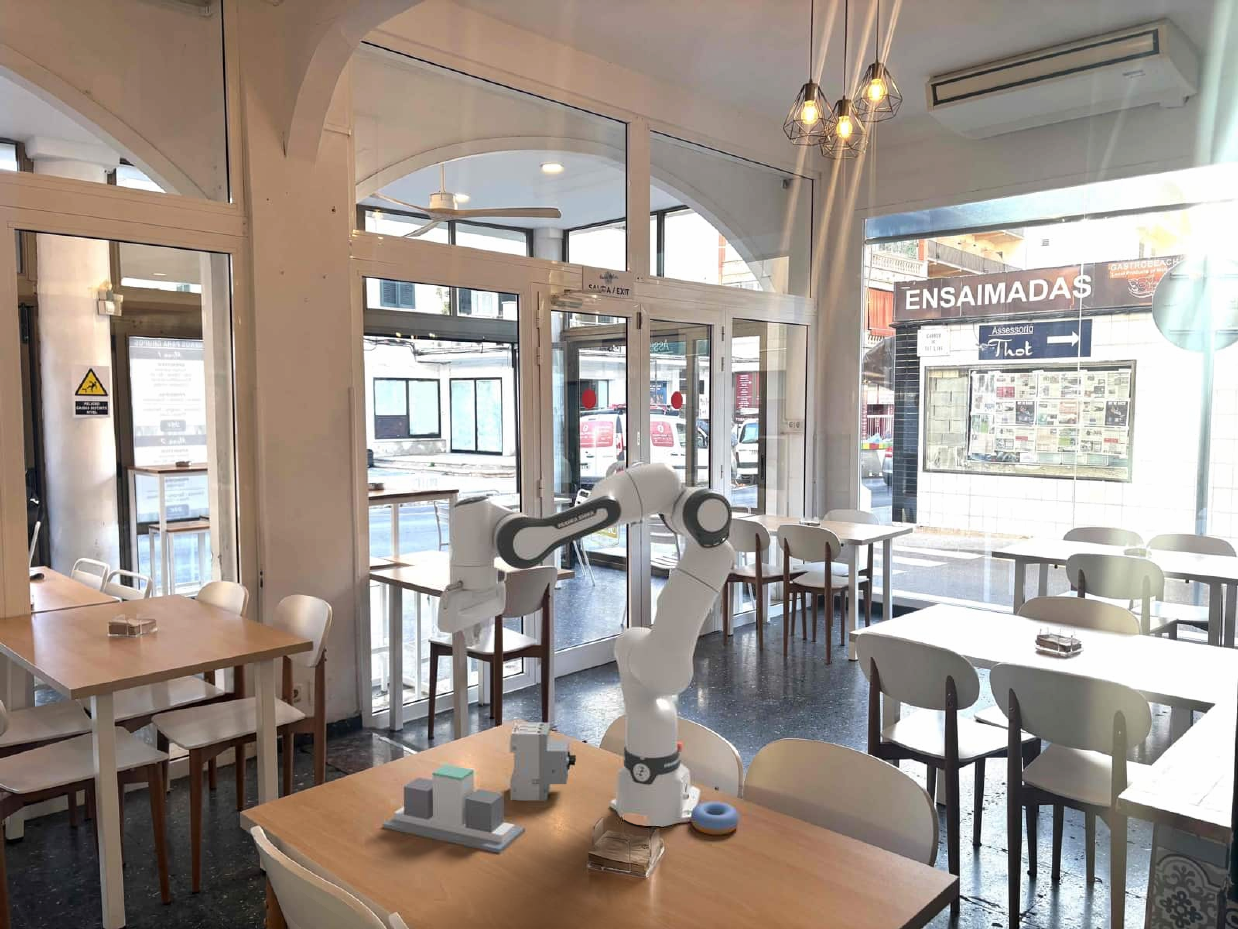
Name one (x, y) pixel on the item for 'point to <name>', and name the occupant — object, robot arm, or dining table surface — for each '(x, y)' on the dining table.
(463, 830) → the rail assembly
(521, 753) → the circuit breaker
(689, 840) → the dining table surface
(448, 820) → the block
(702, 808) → the doughnut
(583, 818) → the dining table surface
